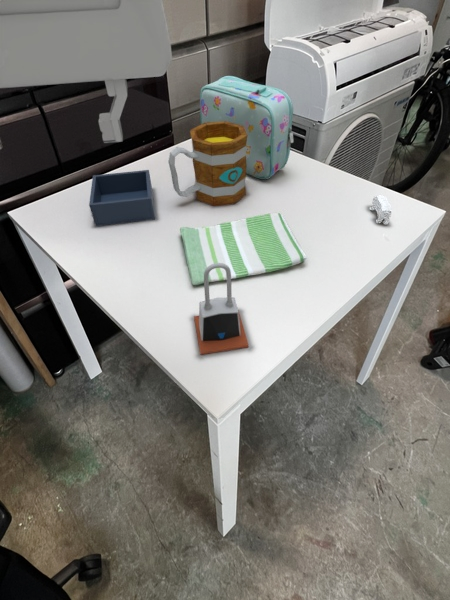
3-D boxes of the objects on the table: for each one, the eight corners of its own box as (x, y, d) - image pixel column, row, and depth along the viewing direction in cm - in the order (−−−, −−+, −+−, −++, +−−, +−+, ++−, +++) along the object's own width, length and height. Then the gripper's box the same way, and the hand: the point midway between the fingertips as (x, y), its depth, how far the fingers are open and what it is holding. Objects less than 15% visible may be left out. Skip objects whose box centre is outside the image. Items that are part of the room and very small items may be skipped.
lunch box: (295, 173, 101) (306, 86, 86) (272, 188, 96) (279, 98, 80) (222, 145, 114) (221, 65, 98) (199, 157, 109) (193, 74, 93)
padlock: (236, 318, 65) (237, 251, 54) (241, 337, 62) (243, 270, 51) (198, 324, 64) (191, 257, 53) (201, 343, 61) (194, 276, 50)
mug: (228, 174, 101) (227, 116, 91) (257, 196, 93) (260, 135, 83) (163, 194, 95) (154, 135, 84) (187, 220, 87) (181, 158, 76)
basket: (95, 226, 86) (89, 205, 81) (98, 195, 95) (92, 175, 91) (155, 219, 87) (151, 198, 83) (152, 189, 96) (148, 169, 92)
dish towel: (179, 233, 83) (178, 223, 81) (279, 219, 86) (280, 208, 84) (192, 288, 71) (191, 277, 69) (308, 268, 74) (310, 258, 72)
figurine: (377, 226, 84) (383, 208, 81) (367, 206, 89) (372, 189, 86) (388, 225, 84) (394, 208, 81) (377, 206, 89) (383, 188, 86)
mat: (200, 354, 60) (200, 352, 60) (194, 318, 66) (194, 316, 65) (248, 347, 61) (248, 345, 61) (238, 311, 67) (238, 309, 66)
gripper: (-313, -115, 16) (-105, 178, 26) (156, -122, 19) (183, 150, 29) (-221, -109, 21) (-72, 141, 31) (150, -115, 23) (175, 119, 33)
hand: (53, 145), depth 30 cm, fingers open, 8 cm apart
